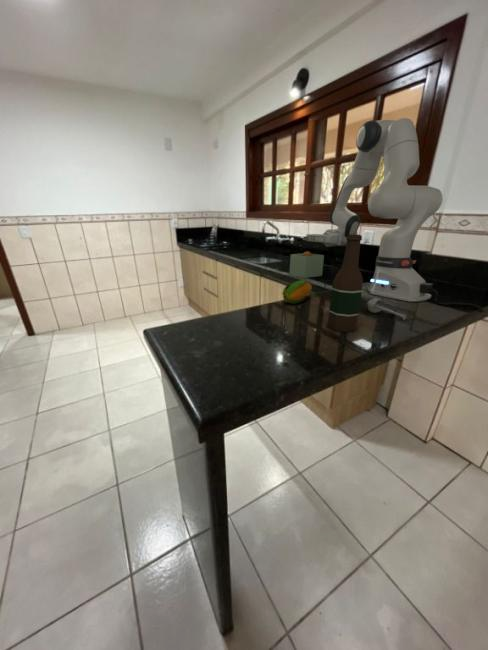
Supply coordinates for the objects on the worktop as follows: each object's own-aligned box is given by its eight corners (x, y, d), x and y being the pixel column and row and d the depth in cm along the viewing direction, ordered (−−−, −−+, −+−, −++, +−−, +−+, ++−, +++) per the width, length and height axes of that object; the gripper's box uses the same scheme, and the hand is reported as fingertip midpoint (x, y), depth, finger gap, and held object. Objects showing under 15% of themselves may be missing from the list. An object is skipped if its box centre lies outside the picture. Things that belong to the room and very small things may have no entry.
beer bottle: (323, 322, 76) (333, 234, 67) (350, 322, 75) (364, 234, 67) (331, 332, 68) (343, 235, 60) (361, 332, 68) (378, 235, 59)
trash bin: (322, 275, 141) (324, 255, 137) (304, 278, 136) (305, 256, 132) (306, 272, 152) (308, 253, 148) (289, 274, 146) (290, 254, 142)
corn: (278, 283, 88) (301, 274, 104) (276, 304, 91) (299, 292, 107) (298, 287, 85) (319, 277, 100) (295, 309, 88) (316, 296, 103)
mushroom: (404, 309, 74) (366, 294, 82) (396, 324, 75) (359, 308, 84) (413, 310, 78) (376, 296, 87) (406, 324, 80) (370, 309, 88)
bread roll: (312, 273, 142) (314, 251, 138) (305, 274, 140) (306, 252, 136) (306, 272, 147) (307, 250, 142) (298, 273, 144) (300, 251, 140)
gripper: (318, 231, 150) (298, 231, 145) (344, 232, 132) (322, 232, 127) (317, 242, 152) (297, 243, 147) (342, 245, 134) (320, 246, 130)
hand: (309, 238), depth 137 cm, fingers open, 8 cm apart
